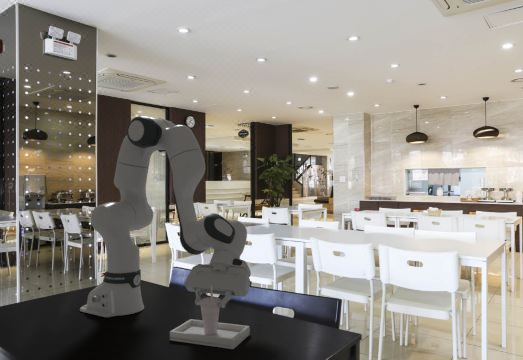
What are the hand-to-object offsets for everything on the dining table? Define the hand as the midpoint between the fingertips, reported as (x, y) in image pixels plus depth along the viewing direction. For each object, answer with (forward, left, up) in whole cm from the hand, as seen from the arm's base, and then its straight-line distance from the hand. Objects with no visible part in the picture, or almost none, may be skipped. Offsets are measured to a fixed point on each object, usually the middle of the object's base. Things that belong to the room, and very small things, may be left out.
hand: (209, 305), depth 122 cm
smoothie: (0, +1, -8) cm, 9 cm away
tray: (0, +1, -9) cm, 9 cm away
